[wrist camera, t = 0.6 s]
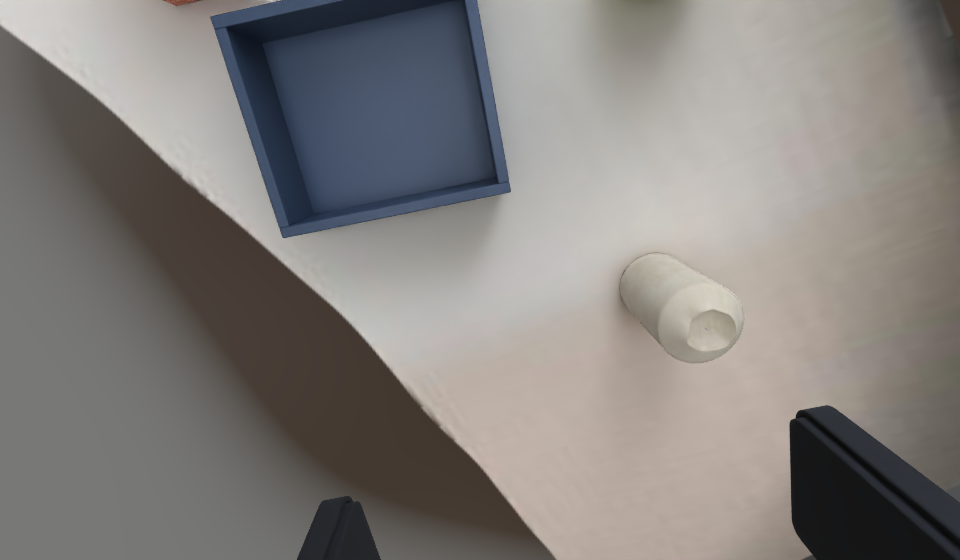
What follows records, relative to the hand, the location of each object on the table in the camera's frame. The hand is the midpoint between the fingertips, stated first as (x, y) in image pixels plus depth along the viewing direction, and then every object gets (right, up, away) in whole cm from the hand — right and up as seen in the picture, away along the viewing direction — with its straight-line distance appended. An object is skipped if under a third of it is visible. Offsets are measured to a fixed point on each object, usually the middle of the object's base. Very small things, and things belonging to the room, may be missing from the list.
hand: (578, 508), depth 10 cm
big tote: (-9, +17, +24) cm, 31 cm away
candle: (+12, +5, +28) cm, 31 cm away
